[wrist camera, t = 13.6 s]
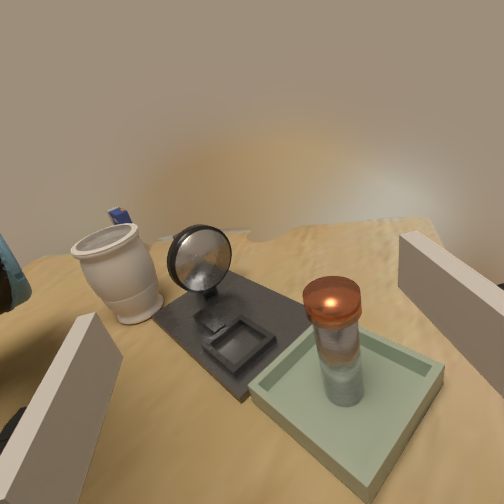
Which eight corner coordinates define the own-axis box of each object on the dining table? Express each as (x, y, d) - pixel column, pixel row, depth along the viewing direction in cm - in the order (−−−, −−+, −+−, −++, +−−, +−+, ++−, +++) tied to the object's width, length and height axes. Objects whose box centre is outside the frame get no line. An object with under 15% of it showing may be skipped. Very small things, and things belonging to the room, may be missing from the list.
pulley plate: (153, 320, 52) (118, 252, 46) (225, 272, 60) (205, 209, 54) (241, 403, 35) (205, 312, 28) (327, 320, 43) (314, 235, 36)
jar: (179, 290, 58) (148, 219, 51) (152, 330, 50) (111, 251, 43) (132, 292, 62) (98, 226, 55) (100, 330, 53) (54, 257, 46)
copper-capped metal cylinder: (311, 392, 33) (291, 298, 27) (337, 363, 35) (324, 270, 29) (351, 420, 29) (338, 319, 23) (377, 386, 32) (371, 286, 26)
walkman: (146, 253, 77) (126, 209, 71) (136, 258, 76) (114, 214, 70) (135, 245, 83) (116, 204, 77) (125, 250, 81) (105, 209, 76)
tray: (253, 402, 34) (247, 385, 33) (328, 328, 41) (326, 311, 40) (369, 506, 24) (367, 487, 23) (442, 384, 31) (445, 364, 30)
